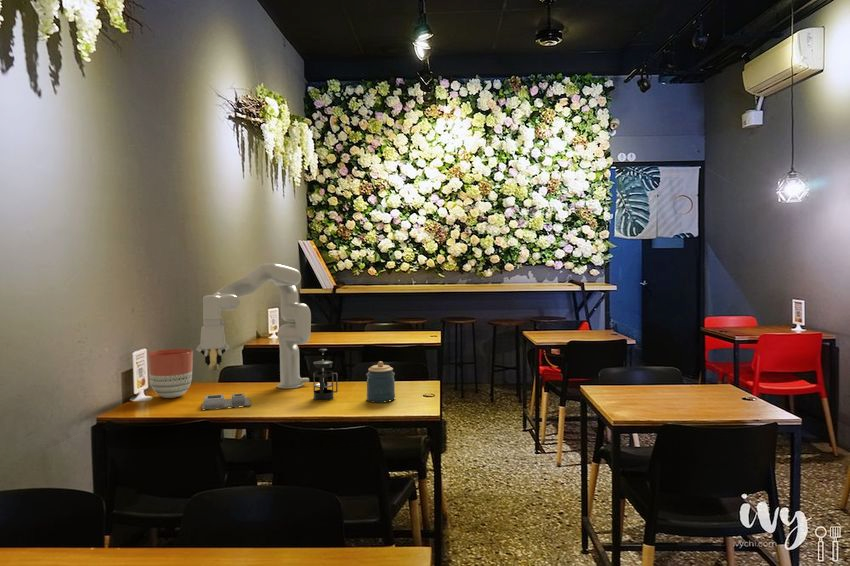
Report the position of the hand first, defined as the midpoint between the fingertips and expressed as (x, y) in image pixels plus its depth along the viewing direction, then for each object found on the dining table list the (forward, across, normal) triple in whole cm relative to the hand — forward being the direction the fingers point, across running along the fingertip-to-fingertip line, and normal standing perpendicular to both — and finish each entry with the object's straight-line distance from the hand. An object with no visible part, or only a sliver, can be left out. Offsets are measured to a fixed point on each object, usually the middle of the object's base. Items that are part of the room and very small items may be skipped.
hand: (213, 364), depth 255 cm
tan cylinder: (+2, 0, 0) cm, 2 cm away
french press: (+19, -48, +3) cm, 52 cm away
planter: (+19, +20, -25) cm, 37 cm away
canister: (+19, -72, +14) cm, 76 cm away
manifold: (+18, -5, 0) cm, 19 cm away
